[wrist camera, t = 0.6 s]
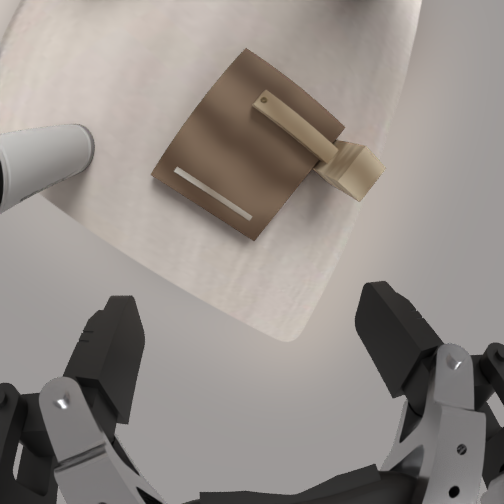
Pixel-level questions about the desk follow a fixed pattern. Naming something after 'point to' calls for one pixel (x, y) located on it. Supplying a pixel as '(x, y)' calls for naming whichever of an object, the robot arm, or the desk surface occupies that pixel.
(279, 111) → the marking gauge
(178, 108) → the desk surface
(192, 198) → the walnut board
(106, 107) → the desk surface
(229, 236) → the desk surface
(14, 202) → the travel mug
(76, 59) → the desk surface
